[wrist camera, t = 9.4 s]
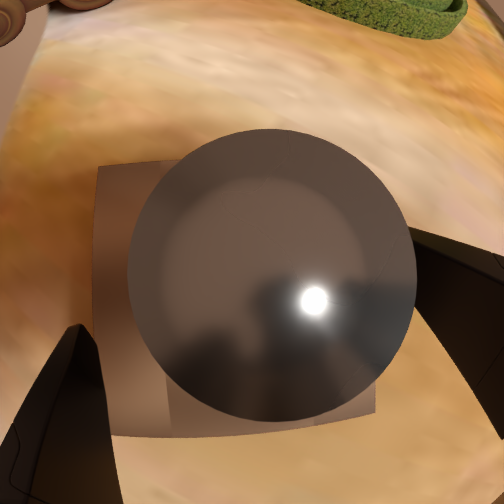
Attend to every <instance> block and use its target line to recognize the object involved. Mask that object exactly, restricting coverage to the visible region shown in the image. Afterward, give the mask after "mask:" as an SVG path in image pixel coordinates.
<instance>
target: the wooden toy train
mask: <svg viewBox="0 0 504 504" xmlns="http://www.w3.org/2000/svg"><path fill="white" fill-rule="evenodd" d="M53 1H55V0H0V47H2V46H5V45H6V44H8V43H9V42H10V41H12V40H13V39H15V38H16V37H17V36H18V34H19V33H20V32H21V31H22V29H23V26H24V25H25V19H26V13H27V12H29V11H31V10H34V9H36V8H38V7H41V6H43V5H45V4H48V3H50V2H53ZM59 1H60V2H61V3H63V4H64V5H65V6H67V7H69V8H73V9H76V10H89V9H94V8H98V7H100V6H103V5H105V4H107V3H109V2H110V1H111V0H59Z"/></svg>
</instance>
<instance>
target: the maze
mask: <svg viewBox="0 0 504 504" xmlns="http://www.w3.org/2000/svg"><path fill="white" fill-rule="evenodd" d="M297 1H300V2H302V3H304V4H306V5H309V6H311V7H314V8H317V9H320V10H322V11H325V12H327V13H330V14H332V15H335V16H337V17H340V18H343V19H346V20H349V21H352V22H355V23H358V24H361V25H364V26H367V27H370V28H373V29H376V30H380V31H384V32H388V33H392V34H395V35H399V36H403V37H409V38H416V39H423V40H432V39H442V38H444V37H445V36H447V35H448V34H450V33H451V32H452V31H453V30H454V28H455V27H456V26H457V25H458V23H459V22H460V21H461V20H462V18H463V17H464V16H465V15H466V14H467V9H468V4H467V1H466V0H297Z"/></svg>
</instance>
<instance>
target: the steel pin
mask: <svg viewBox="0 0 504 504" xmlns="http://www.w3.org/2000/svg"><path fill="white" fill-rule="evenodd" d="M127 279H128V290H129V298H130V303H131V307H132V311H133V316H134V319H135V321H136V324H137V327H138V329H139V332H140V334H141V337H142V339H143V340H144V342H145V344H146V346H147V348H148V349H149V351H150V353H151V355H152V356H153V358H154V359H155V360H156V361H157V363H158V364H159V365H160V367H161V368H162V369H163V371H164V372H165V373H166V374H167V375H168V376H169V377H170V378H171V379H172V380H173V381H174V382H175V383H176V384H177V385H178V386H179V387H180V388H182V389H183V390H184V391H186V392H187V393H188V394H190V395H191V396H193V397H194V398H195V399H197V400H198V401H200V402H202V403H204V404H206V405H208V406H210V407H211V408H213V409H215V410H218V411H220V412H223V413H226V414H229V415H232V416H234V417H238V418H243V419H248V420H253V421H261V422H287V421H297V420H302V419H306V418H311V417H315V416H318V415H321V414H323V413H326V412H329V411H331V410H334V409H336V408H337V407H339V406H341V405H343V404H345V403H347V402H349V401H350V400H352V399H353V398H355V397H356V396H357V395H359V394H360V393H361V392H363V391H364V390H365V389H367V388H368V387H369V386H370V385H371V384H372V383H373V382H374V381H375V380H376V379H377V378H378V377H379V376H380V375H381V374H382V372H383V371H384V370H385V369H386V367H387V366H388V365H389V364H390V362H391V361H392V359H393V358H394V356H395V354H396V353H397V351H398V349H399V348H400V346H401V344H402V342H403V339H404V337H405V335H406V333H407V330H408V327H409V324H410V321H411V318H412V314H413V310H414V304H415V298H416V288H417V269H416V258H415V252H414V247H413V242H412V239H411V236H410V232H409V229H408V226H407V224H406V221H405V219H404V217H403V215H402V212H401V210H400V208H399V207H398V205H397V203H396V202H395V200H394V198H393V196H392V195H391V193H390V192H389V191H388V189H387V188H386V187H385V186H384V184H383V183H382V182H381V180H380V179H379V178H378V177H377V176H376V175H375V174H374V173H373V172H372V171H371V170H370V169H369V168H368V167H367V166H365V165H364V164H363V163H362V162H361V161H359V160H358V159H357V158H356V157H354V156H353V155H351V154H350V153H348V152H347V151H345V150H343V149H342V148H340V147H338V146H336V145H334V144H332V143H330V142H328V141H326V140H323V139H320V138H318V137H315V136H312V135H309V134H305V133H300V132H295V131H290V130H280V129H258V130H250V131H243V132H238V133H234V134H231V135H227V136H224V137H221V138H218V139H216V140H214V141H211V142H209V143H207V144H205V145H203V146H201V147H199V148H198V149H196V150H195V151H193V152H191V153H190V154H188V155H187V156H185V157H184V158H183V159H182V160H181V161H179V162H178V163H177V164H176V165H174V166H173V167H172V168H171V169H170V170H169V171H168V172H167V174H166V175H165V176H164V177H163V178H162V179H161V180H160V181H159V182H158V184H157V185H156V187H155V188H154V190H153V191H152V192H151V194H150V195H149V197H148V198H147V200H146V202H145V204H144V206H143V208H142V210H141V212H140V214H139V216H138V219H137V222H136V225H135V228H134V231H133V234H132V238H131V243H130V248H129V254H128V269H127Z"/></svg>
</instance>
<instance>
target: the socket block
mask: <svg viewBox="0 0 504 504" xmlns="http://www.w3.org/2000/svg"><path fill="white" fill-rule="evenodd" d="M179 161H181V160H169V161H154V162H141V163H129V164H119V165H109V166H100V167H98V176H97V185H96V196H95V208H94V223H93V245H92V307H93V329H94V341H95V342H96V344H97V347H98V351H99V357H100V364H101V369H102V375H103V380H104V386H105V391H106V397H107V405H108V415H109V423H110V431H111V435H115V436H130V437H152V438H200V437H222V436H237V435H249V434H259V433H268V432H276V431H284V430H291V429H298V428H304V427H310V426H316V425H322V424H327V423H332V422H337V421H342V420H347V419H351V418H356V417H360V416H364V415H368V414H372V413H375V381H374V382H373V383H372V384H371V385H370V386H369V387H368V388H367V389H365V390H364V391H363V392H361V393H360V394H359V395H357V396H356V397H355V398H353V399H352V400H350V401H349V402H347V403H345V404H343V405H341V406H339V407H337V408H336V409H334V410H331V411H329V412H326V413H323V414H321V415H318V416H315V417H311V418H306V419H302V420H297V421H287V422H261V421H253V420H248V419H243V418H238V417H234V416H232V415H229V414H226V413H223V412H220V411H218V410H215V409H213V408H211V407H210V406H208V405H206V404H204V403H202V402H200V401H198V400H197V399H195V398H194V397H193V396H191V395H190V394H188V393H187V392H186V391H184V390H183V389H182V388H180V387H179V386H178V385H177V384H176V383H175V382H174V381H173V380H172V379H171V378H170V377H169V376H168V375H167V374H166V373H165V372H164V371H163V369H162V368H161V367H160V365H159V364H158V363H157V361H156V360H155V359H154V358H153V356H152V355H151V353H150V351H149V349H148V348H147V346H146V344H145V342H144V340H143V339H142V337H141V334H140V332H139V329H138V327H137V324H136V321H135V319H134V316H133V311H132V307H131V303H130V298H129V290H128V279H127V269H128V254H129V248H130V243H131V238H132V234H133V231H134V228H135V225H136V222H137V219H138V216H139V214H140V212H141V210H142V208H143V206H144V204H145V202H146V200H147V198H148V197H149V195H150V194H151V192H152V191H153V190H154V188H155V187H156V185H157V184H158V182H159V181H160V180H161V179H162V178H163V177H164V176H165V175H166V174H167V172H168V171H169V170H170V169H171V168H172V167H173V166H174V165H176V164H177V163H178V162H179Z"/></svg>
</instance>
